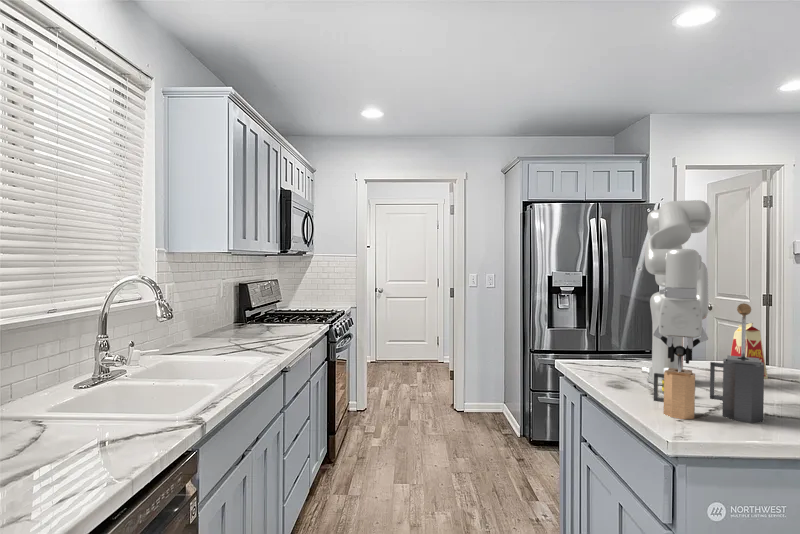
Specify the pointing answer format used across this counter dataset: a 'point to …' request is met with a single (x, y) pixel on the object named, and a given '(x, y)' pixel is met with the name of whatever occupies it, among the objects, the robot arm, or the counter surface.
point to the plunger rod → (743, 325)
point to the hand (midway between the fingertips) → (679, 361)
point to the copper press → (677, 393)
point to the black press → (740, 388)
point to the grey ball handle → (679, 355)
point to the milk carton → (749, 344)
